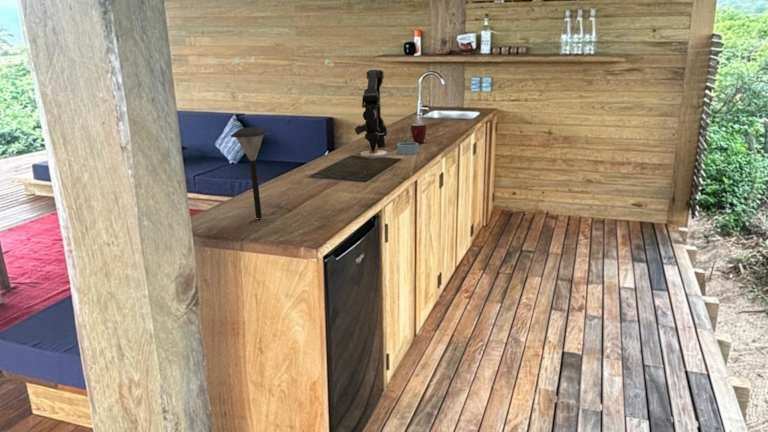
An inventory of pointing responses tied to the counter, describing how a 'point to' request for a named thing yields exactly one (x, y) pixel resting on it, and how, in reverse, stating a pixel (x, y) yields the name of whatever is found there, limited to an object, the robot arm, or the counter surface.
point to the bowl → (407, 148)
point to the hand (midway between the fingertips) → (373, 150)
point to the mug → (418, 132)
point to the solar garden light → (252, 157)
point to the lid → (373, 154)
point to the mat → (373, 157)
